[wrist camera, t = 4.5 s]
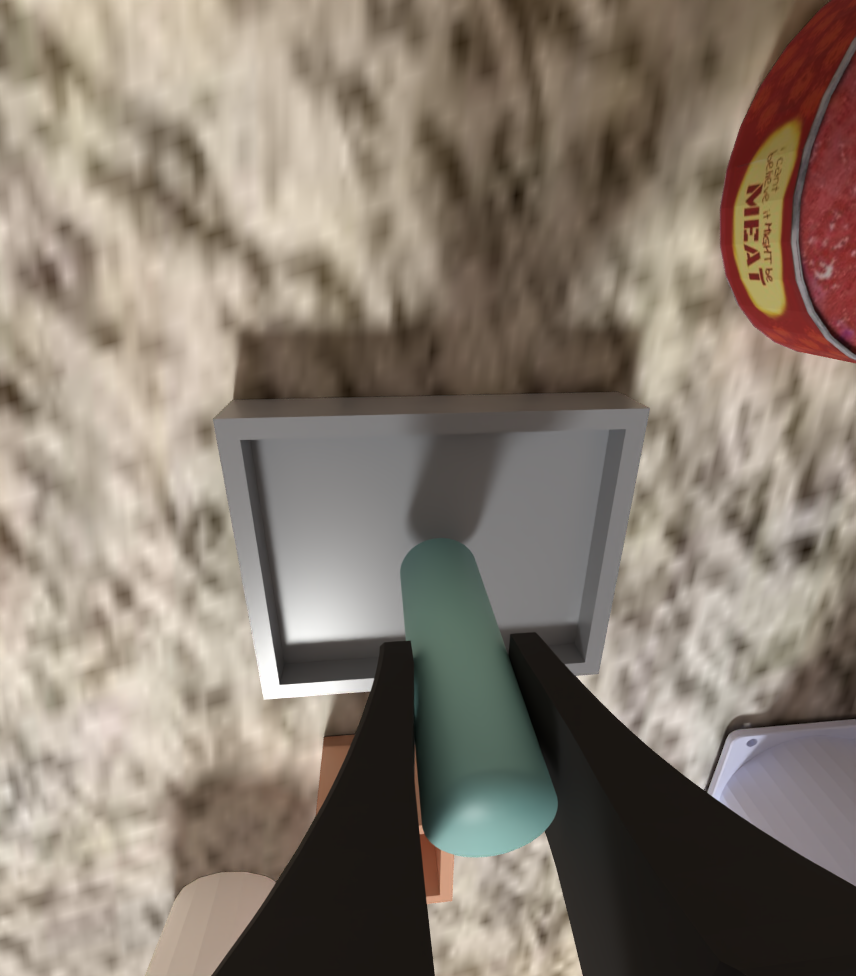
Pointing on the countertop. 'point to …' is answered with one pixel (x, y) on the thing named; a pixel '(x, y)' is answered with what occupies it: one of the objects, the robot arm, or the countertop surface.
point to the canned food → (798, 193)
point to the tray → (424, 519)
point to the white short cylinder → (207, 922)
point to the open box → (434, 859)
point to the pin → (469, 712)
